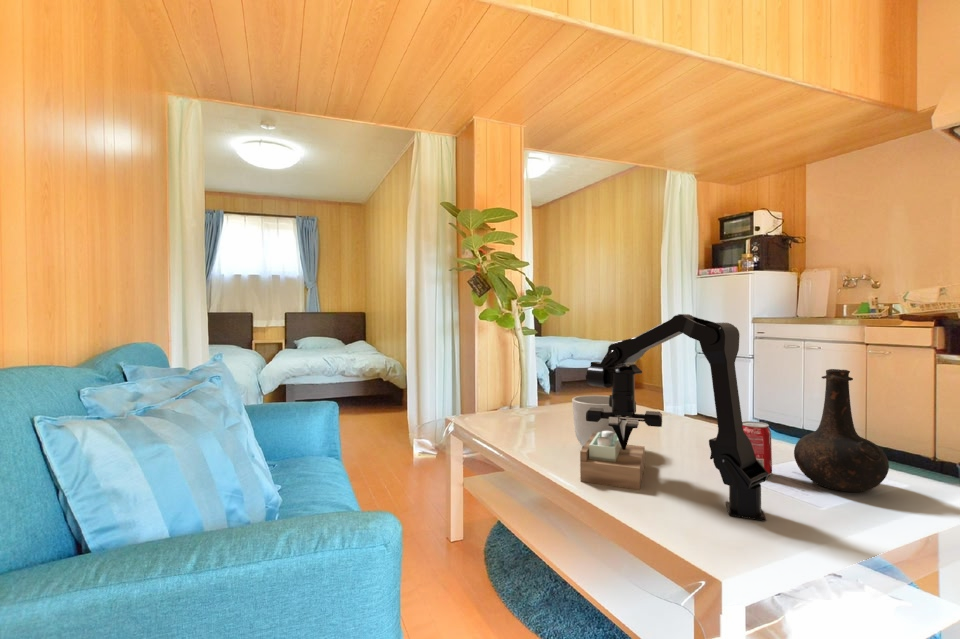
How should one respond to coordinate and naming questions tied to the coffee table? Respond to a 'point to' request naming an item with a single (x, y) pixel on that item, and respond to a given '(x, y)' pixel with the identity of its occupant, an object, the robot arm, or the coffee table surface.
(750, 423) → the soda can
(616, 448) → the tray
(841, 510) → the coffee table surface
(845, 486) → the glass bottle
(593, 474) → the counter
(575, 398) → the planter
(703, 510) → the coffee table surface
